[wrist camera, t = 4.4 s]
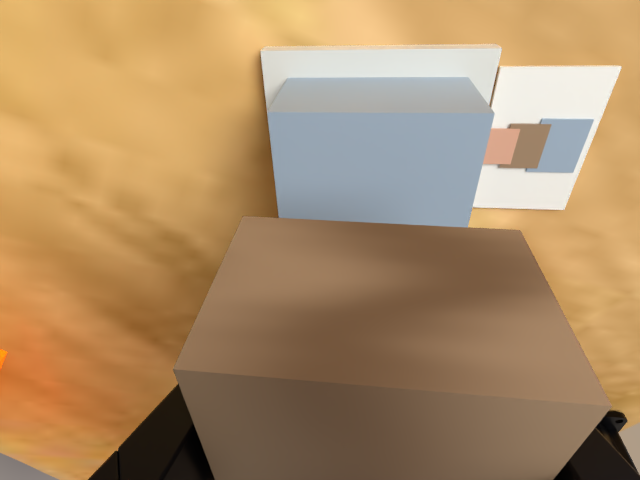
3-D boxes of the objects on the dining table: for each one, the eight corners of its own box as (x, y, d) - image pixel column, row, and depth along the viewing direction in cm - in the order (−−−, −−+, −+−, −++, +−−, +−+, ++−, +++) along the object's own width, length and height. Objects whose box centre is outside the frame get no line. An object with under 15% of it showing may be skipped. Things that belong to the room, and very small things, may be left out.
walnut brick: (520, 230, 8) (612, 406, 5) (461, 390, 12) (493, 552, 9) (242, 215, 9) (173, 368, 6) (266, 374, 13) (231, 522, 9)
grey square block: (496, 43, 15) (539, 78, 11) (454, 234, 21) (474, 301, 17) (264, 46, 16) (231, 79, 12) (283, 228, 21) (264, 291, 18)
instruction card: (619, 65, 15) (624, 67, 15) (562, 207, 19) (565, 212, 19) (499, 65, 16) (502, 68, 15) (467, 205, 19) (469, 209, 19)
